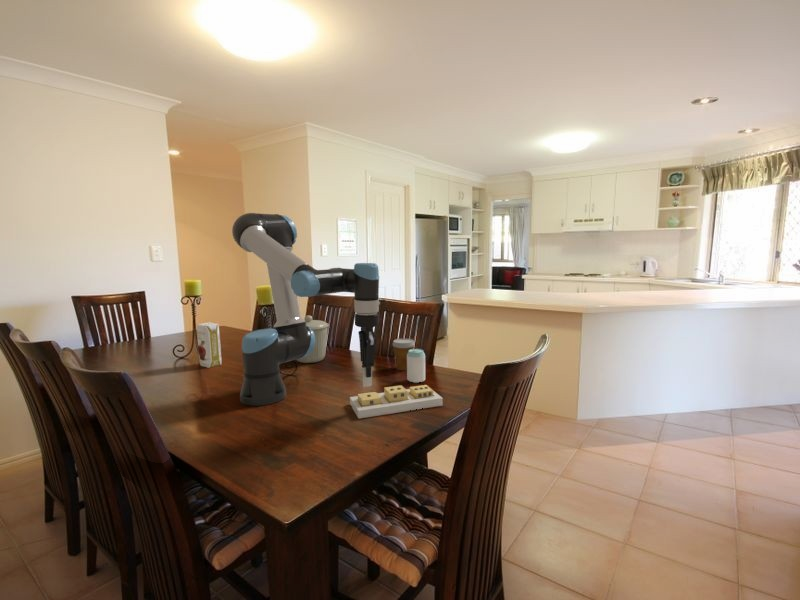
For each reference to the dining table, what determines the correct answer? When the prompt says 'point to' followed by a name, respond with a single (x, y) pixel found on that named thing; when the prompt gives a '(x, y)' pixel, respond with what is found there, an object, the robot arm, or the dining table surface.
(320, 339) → the canister
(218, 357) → the juice carton
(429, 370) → the dining table surface
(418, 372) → the can
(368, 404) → the one pip key
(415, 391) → the three pip key
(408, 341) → the disposable coffee cup
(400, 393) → the two pip key
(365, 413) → the keypad base
